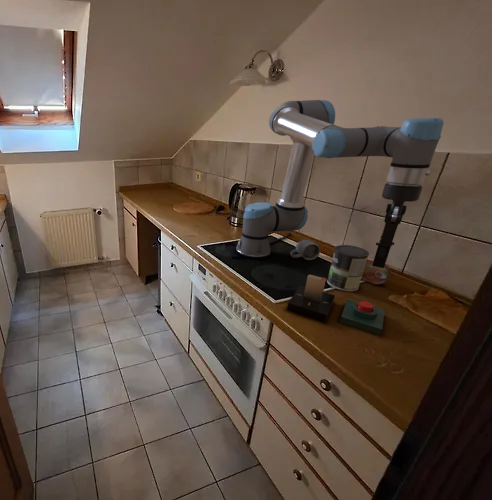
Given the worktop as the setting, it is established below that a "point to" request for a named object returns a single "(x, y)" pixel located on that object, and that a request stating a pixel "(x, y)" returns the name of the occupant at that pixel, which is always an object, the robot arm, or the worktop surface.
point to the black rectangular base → (311, 305)
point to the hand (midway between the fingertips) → (378, 266)
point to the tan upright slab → (314, 288)
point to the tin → (375, 273)
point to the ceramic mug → (306, 250)
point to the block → (363, 317)
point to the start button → (365, 306)
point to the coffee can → (347, 267)
